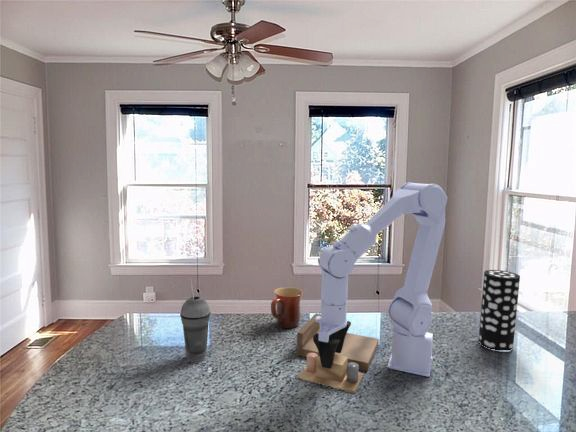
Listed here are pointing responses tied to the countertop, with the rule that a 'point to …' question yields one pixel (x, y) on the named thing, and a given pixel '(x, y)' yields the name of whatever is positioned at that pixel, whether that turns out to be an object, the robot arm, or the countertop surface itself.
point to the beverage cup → (195, 327)
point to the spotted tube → (498, 309)
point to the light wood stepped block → (353, 347)
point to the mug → (287, 306)
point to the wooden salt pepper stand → (333, 373)
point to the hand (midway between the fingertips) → (331, 359)
